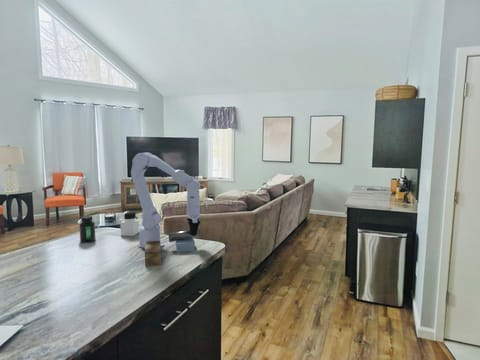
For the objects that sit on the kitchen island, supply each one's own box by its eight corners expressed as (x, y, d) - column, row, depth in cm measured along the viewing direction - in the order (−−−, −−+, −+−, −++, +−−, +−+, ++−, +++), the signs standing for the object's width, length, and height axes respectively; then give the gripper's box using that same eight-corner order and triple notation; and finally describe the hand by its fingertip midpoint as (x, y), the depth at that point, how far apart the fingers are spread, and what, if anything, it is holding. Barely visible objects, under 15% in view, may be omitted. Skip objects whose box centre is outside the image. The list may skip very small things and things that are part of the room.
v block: (176, 252, 142) (176, 243, 142) (175, 245, 152) (175, 237, 151) (194, 251, 144) (194, 242, 143) (192, 244, 154) (192, 236, 153)
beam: (145, 265, 126) (144, 252, 126) (146, 253, 140) (146, 241, 139) (160, 264, 128) (160, 251, 127) (160, 252, 141) (160, 240, 141)
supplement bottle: (91, 242, 154) (90, 218, 152) (77, 242, 153) (76, 218, 152) (97, 238, 160) (96, 215, 159) (84, 238, 160) (83, 215, 159)
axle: (169, 243, 144) (168, 235, 143) (169, 240, 148) (168, 232, 147) (200, 238, 147) (199, 229, 146) (199, 235, 151) (198, 227, 150)
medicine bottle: (139, 232, 172) (138, 210, 171) (133, 236, 165) (133, 213, 164) (126, 231, 173) (126, 210, 171) (120, 235, 166) (119, 213, 164)
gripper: (204, 208, 140) (204, 238, 142) (200, 202, 154) (200, 229, 156) (187, 209, 139) (188, 239, 140) (185, 202, 153) (185, 230, 154)
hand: (193, 234), depth 148 cm, fingers closed on axle, 4 cm apart
